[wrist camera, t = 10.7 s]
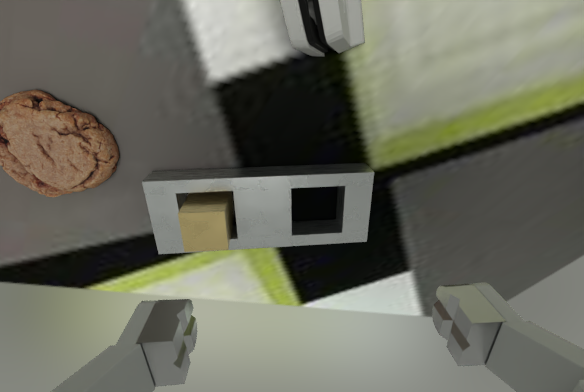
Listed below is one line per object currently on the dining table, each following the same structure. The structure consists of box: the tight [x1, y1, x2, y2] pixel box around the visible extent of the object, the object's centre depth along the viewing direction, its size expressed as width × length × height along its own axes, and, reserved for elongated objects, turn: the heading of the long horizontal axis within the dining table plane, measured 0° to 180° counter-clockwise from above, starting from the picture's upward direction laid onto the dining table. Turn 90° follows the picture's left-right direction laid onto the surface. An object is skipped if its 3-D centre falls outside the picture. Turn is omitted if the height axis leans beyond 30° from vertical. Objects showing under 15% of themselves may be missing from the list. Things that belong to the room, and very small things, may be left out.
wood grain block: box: [178, 191, 234, 252], centre depth 29 cm, size 4×4×6 cm
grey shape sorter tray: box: [142, 163, 374, 254], centre depth 31 cm, size 22×8×3 cm, turn 91°
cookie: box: [0, 90, 119, 197], centre depth 27 cm, size 10×11×3 cm
